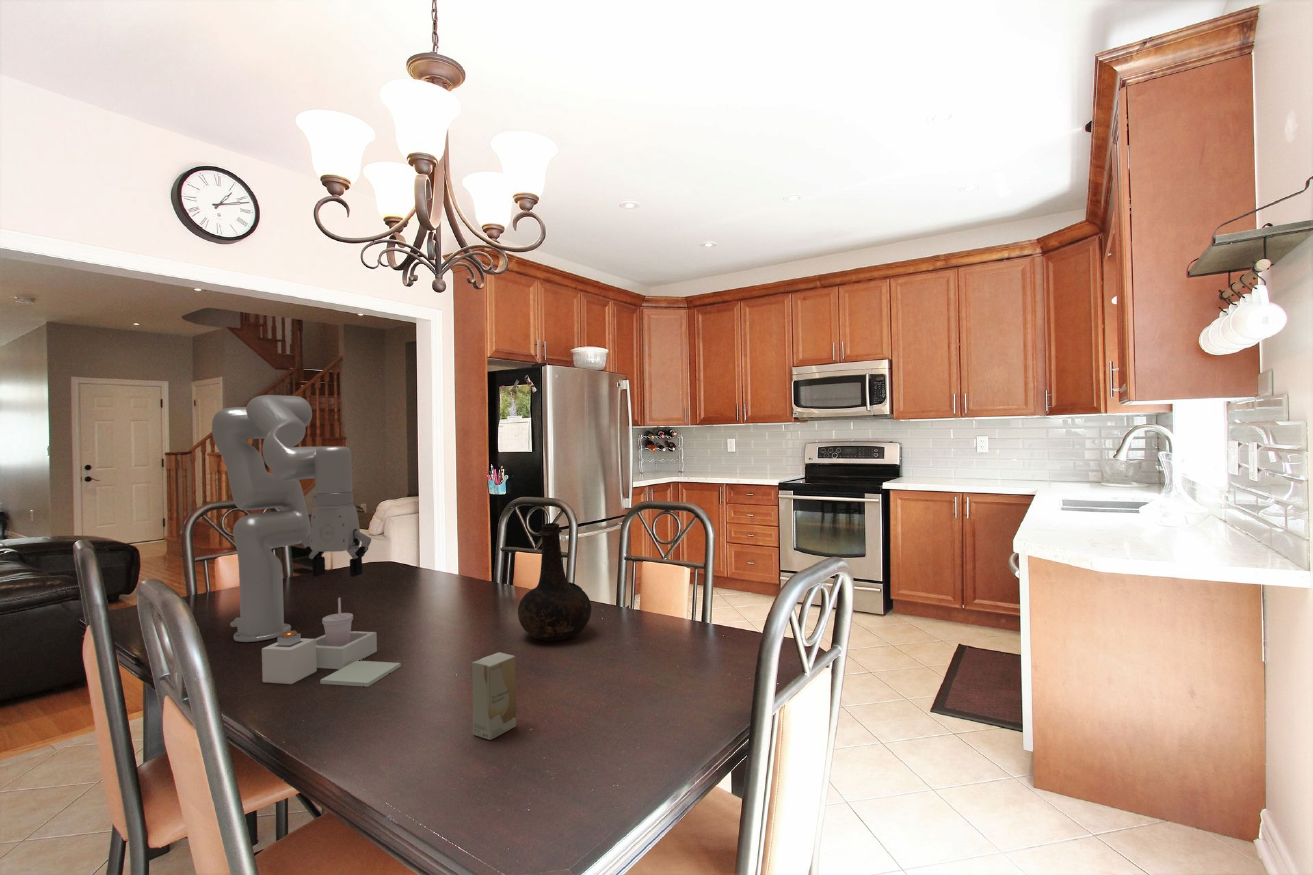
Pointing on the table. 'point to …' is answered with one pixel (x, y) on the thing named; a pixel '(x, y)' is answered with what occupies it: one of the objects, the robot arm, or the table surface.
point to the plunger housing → (289, 662)
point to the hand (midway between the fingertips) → (337, 575)
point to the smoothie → (338, 627)
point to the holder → (345, 650)
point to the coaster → (360, 673)
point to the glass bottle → (553, 596)
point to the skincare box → (494, 695)
